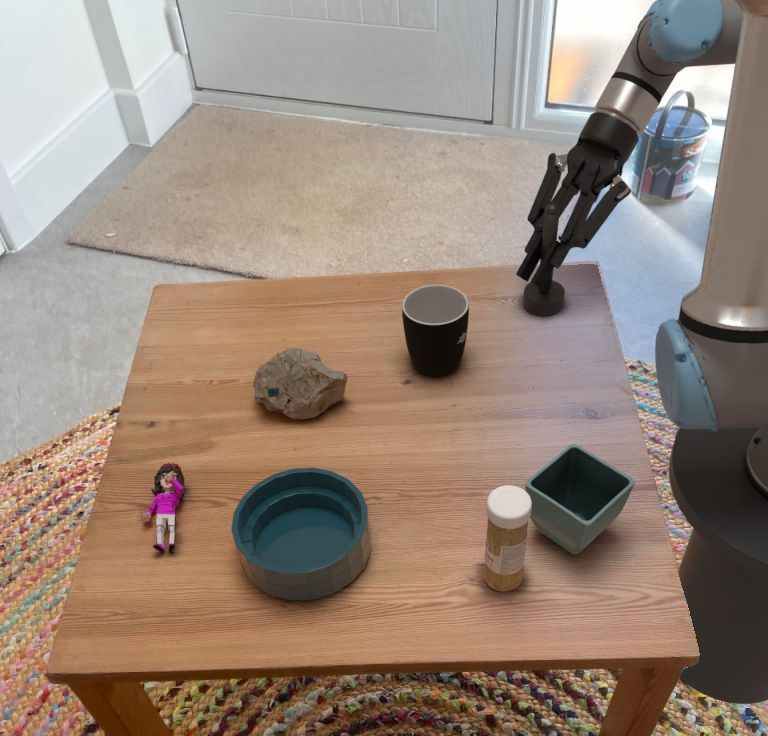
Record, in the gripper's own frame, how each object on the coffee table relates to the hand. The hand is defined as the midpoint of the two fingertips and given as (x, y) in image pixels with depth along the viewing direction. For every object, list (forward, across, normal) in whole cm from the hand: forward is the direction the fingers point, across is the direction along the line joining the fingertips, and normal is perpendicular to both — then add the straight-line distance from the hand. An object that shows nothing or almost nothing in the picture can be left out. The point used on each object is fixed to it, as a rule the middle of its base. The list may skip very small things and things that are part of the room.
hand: (529, 281), depth 121 cm
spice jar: (+31, -29, +23) cm, 48 cm away
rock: (+30, +10, +21) cm, 38 cm away
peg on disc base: (+2, 0, -7) cm, 7 cm away
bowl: (+41, -10, +32) cm, 53 cm away
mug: (+15, +4, +6) cm, 17 cm away
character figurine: (+47, +7, +38) cm, 61 cm away
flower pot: (+24, -30, +15) cm, 42 cm away
